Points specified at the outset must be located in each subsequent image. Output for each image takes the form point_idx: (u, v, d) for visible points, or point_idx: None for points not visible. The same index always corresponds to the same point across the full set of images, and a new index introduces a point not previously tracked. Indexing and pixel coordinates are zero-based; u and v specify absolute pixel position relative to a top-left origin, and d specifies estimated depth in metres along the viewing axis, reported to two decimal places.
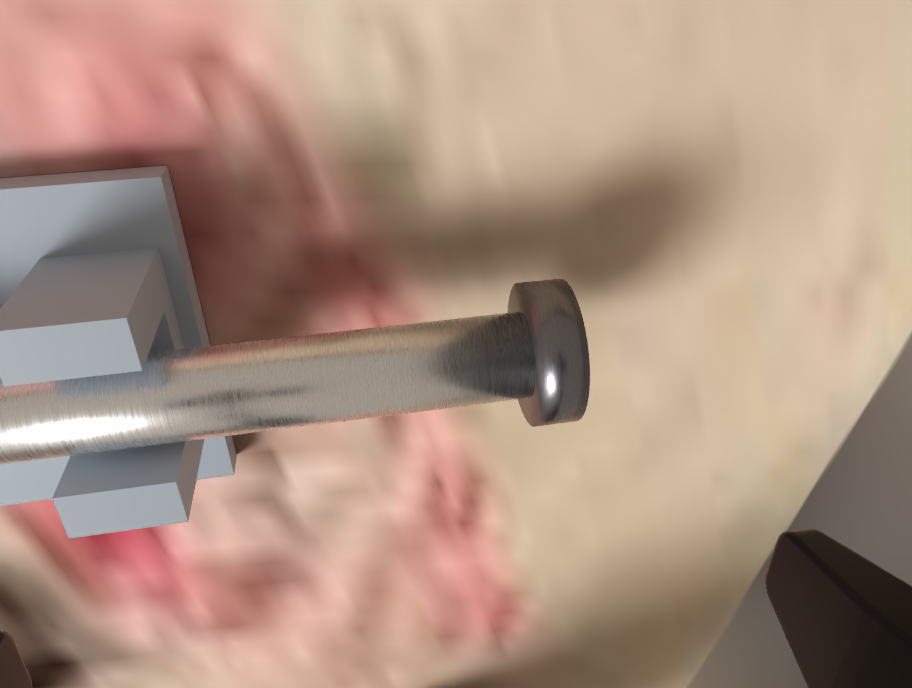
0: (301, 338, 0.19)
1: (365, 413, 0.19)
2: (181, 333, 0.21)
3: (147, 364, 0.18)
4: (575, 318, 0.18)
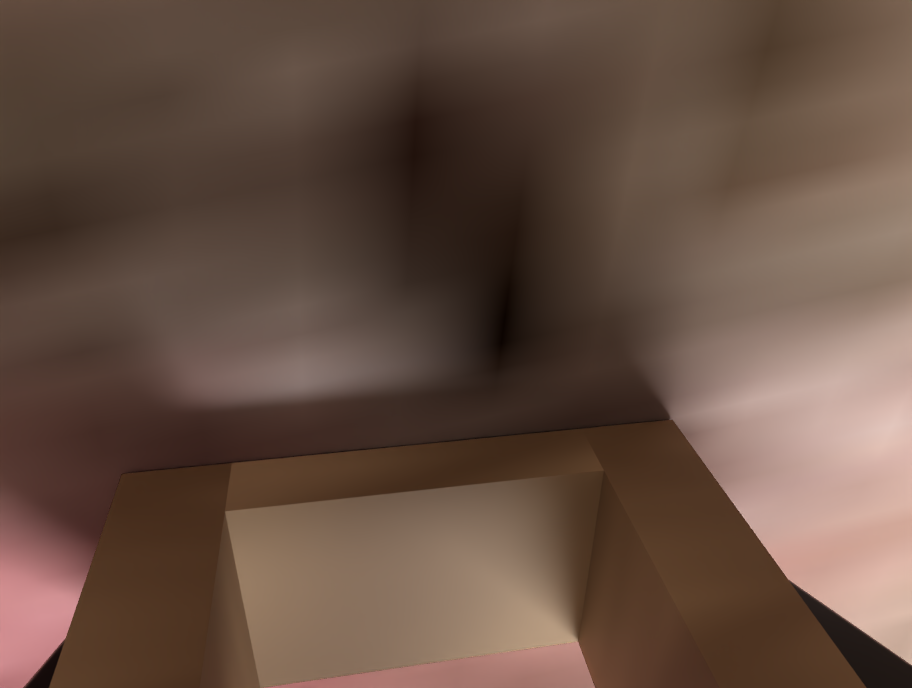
0: None
1: None
2: None
3: None
4: None
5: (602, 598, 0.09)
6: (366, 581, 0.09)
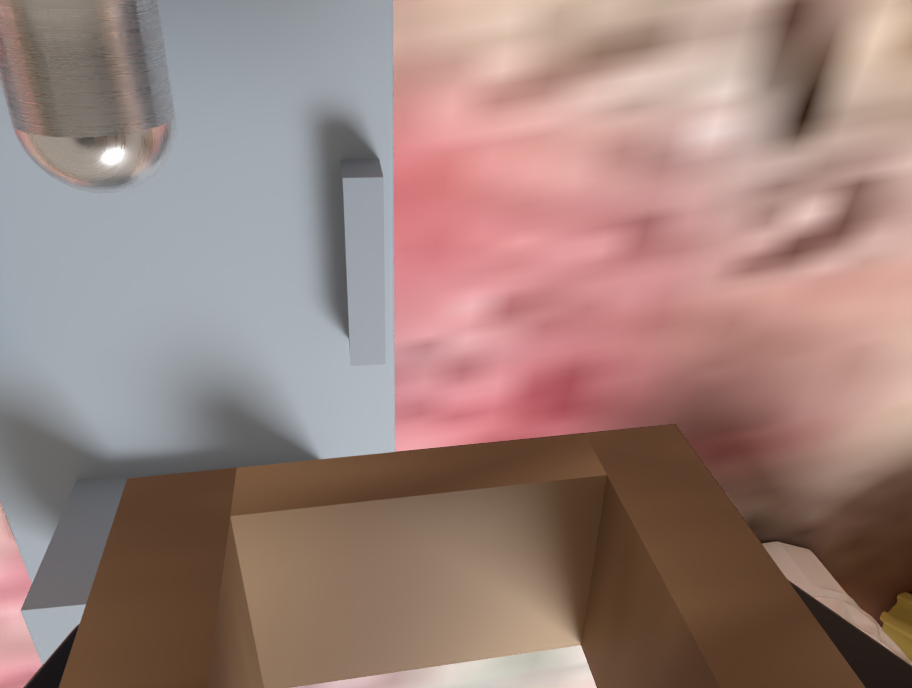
0: None
1: None
2: None
3: None
4: None
5: (605, 602, 0.09)
6: (369, 584, 0.09)
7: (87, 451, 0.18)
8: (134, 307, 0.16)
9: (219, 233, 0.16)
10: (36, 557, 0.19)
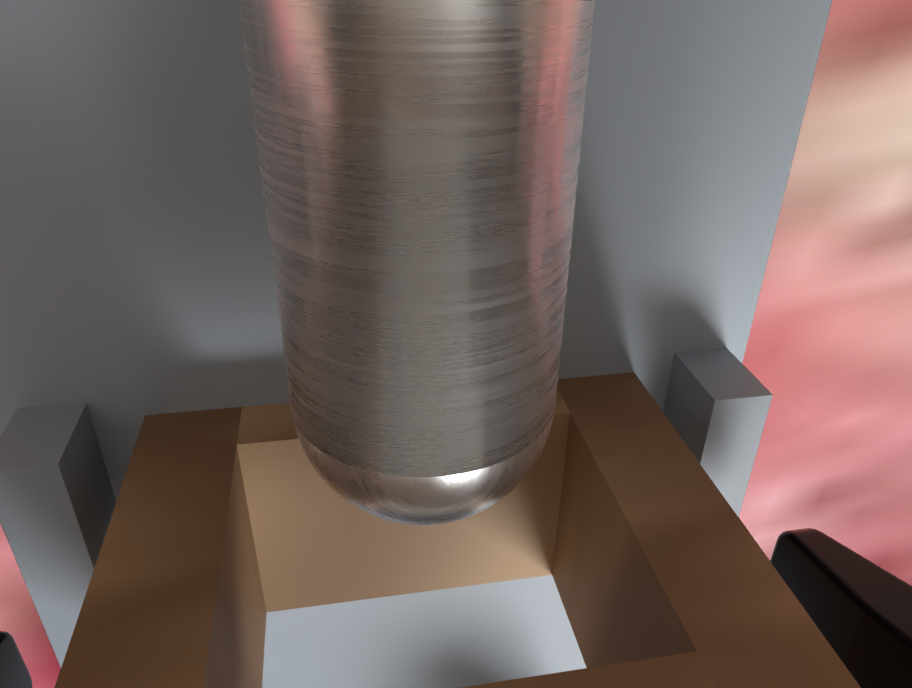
0: None
1: None
2: None
3: None
4: None
5: (570, 528, 0.10)
6: (360, 513, 0.10)
7: None
8: None
9: None
10: None
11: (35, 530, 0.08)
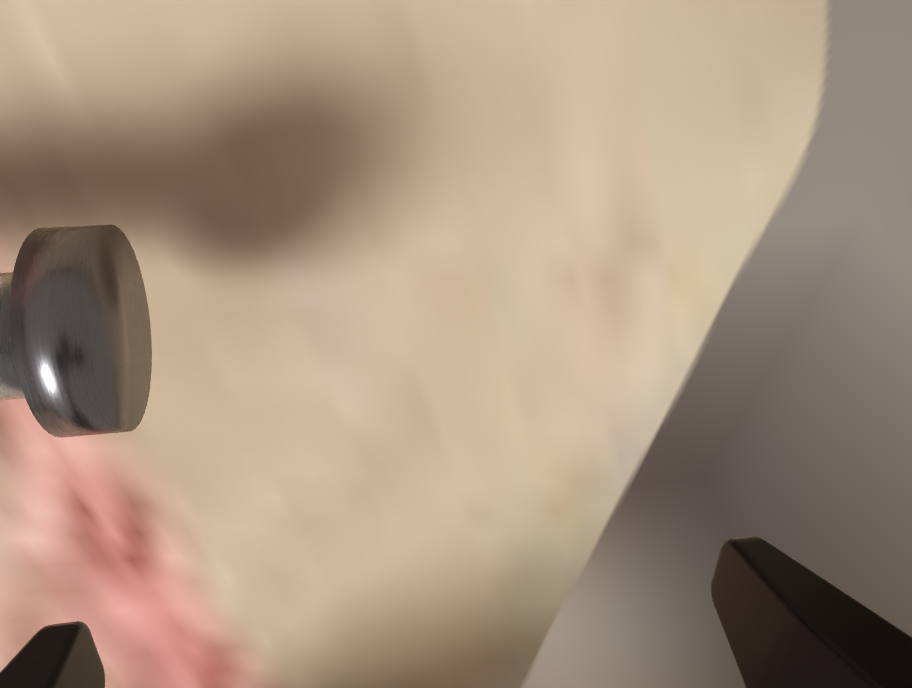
0: None
1: None
2: None
3: None
4: (78, 277, 0.12)
5: None
6: None
7: None
8: None
9: None
10: None
11: None
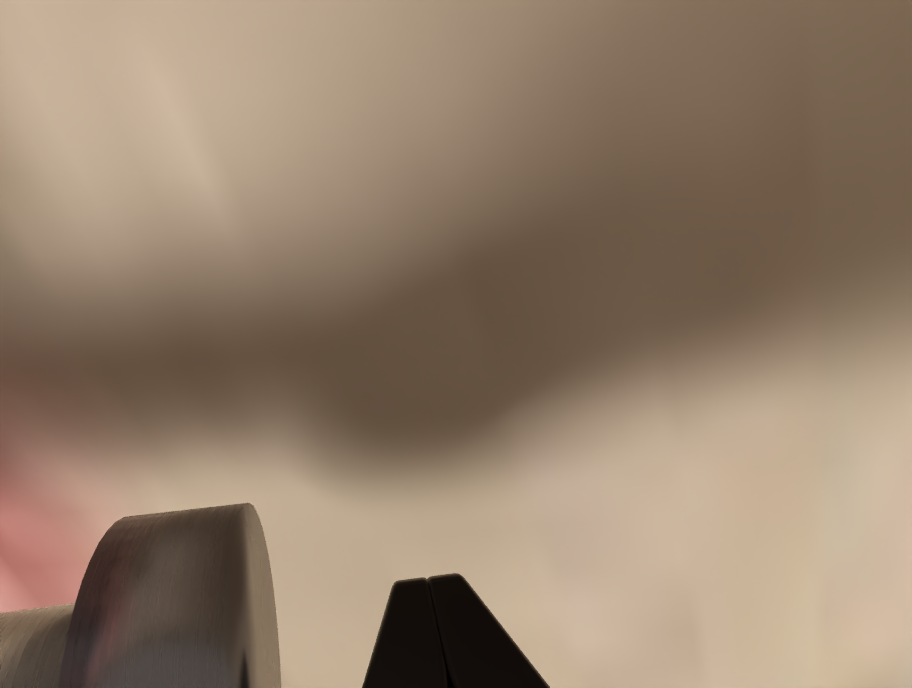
0: None
1: None
2: None
3: None
4: None
5: None
6: None
7: None
8: None
9: None
10: None
11: None
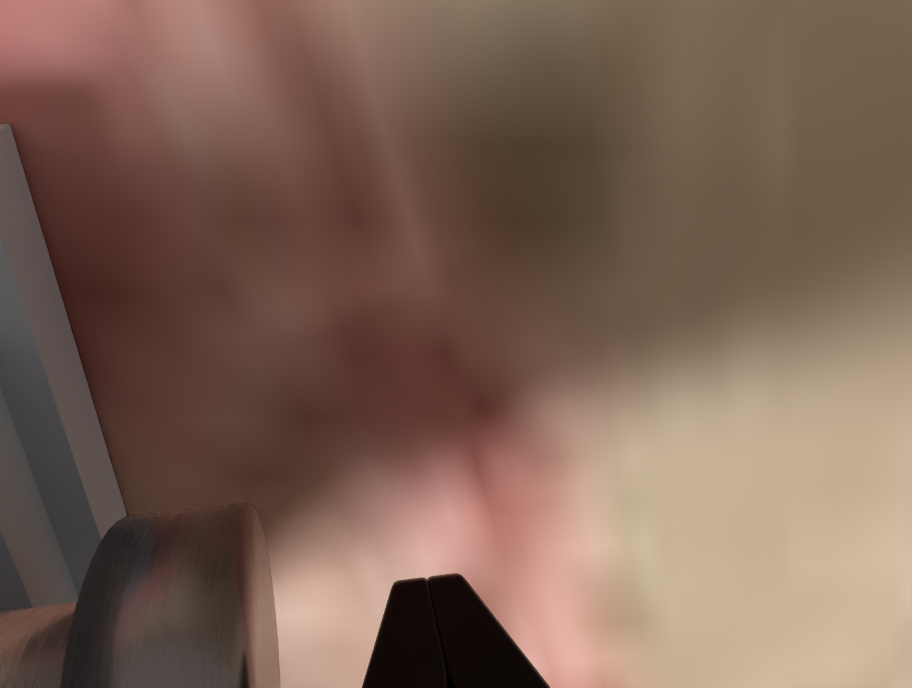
0: None
1: None
2: (52, 520, 0.09)
3: None
4: None
5: None
6: None
7: None
8: None
9: None
10: None
11: None
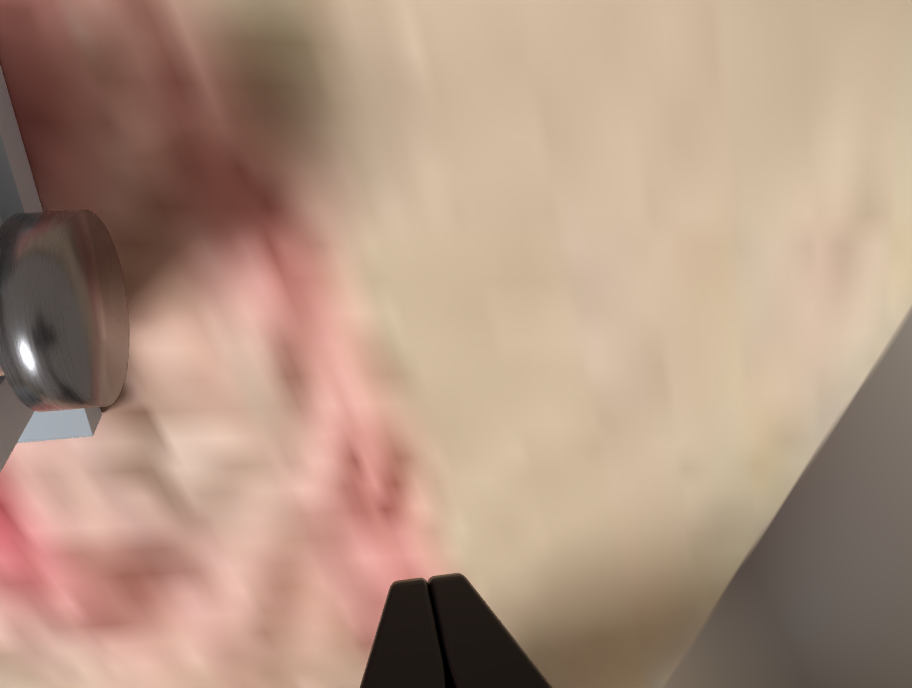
0: None
1: None
2: None
3: None
4: (52, 257, 0.13)
5: None
6: None
7: None
8: None
9: None
10: None
11: None
